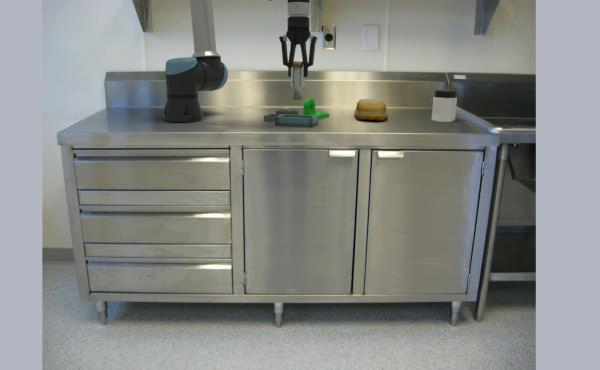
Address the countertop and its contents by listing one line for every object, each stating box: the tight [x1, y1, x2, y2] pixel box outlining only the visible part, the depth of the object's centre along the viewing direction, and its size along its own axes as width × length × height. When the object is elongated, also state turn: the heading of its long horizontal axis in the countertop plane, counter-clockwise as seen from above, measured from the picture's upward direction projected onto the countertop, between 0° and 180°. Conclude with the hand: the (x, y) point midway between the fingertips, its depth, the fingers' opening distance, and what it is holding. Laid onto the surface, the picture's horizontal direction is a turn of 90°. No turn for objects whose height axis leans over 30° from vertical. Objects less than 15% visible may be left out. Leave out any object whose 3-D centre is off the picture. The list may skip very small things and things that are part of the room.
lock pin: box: [292, 60, 304, 101], centre depth 175 cm, size 4×4×13 cm
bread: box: [353, 98, 389, 122], centre depth 201 cm, size 13×26×8 cm, turn 176°
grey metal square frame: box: [263, 113, 282, 123], centre depth 190 cm, size 7×7×2 cm
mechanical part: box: [302, 98, 330, 121], centre depth 198 cm, size 12×6×8 cm, turn 147°
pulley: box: [275, 105, 299, 115], centre depth 201 cm, size 9×9×4 cm
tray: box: [274, 114, 319, 128], centre depth 179 cm, size 13×9×3 cm
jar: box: [431, 89, 458, 123], centre depth 194 cm, size 9×8×12 cm
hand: (297, 86), depth 176 cm, fingers closed on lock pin, 3 cm apart
